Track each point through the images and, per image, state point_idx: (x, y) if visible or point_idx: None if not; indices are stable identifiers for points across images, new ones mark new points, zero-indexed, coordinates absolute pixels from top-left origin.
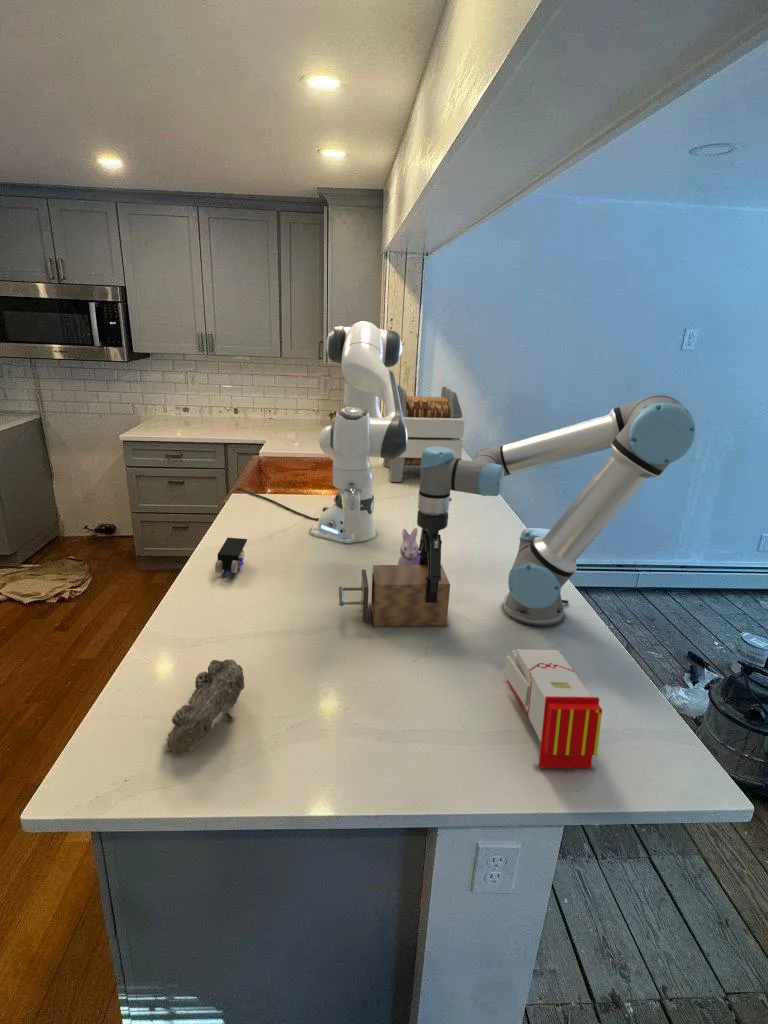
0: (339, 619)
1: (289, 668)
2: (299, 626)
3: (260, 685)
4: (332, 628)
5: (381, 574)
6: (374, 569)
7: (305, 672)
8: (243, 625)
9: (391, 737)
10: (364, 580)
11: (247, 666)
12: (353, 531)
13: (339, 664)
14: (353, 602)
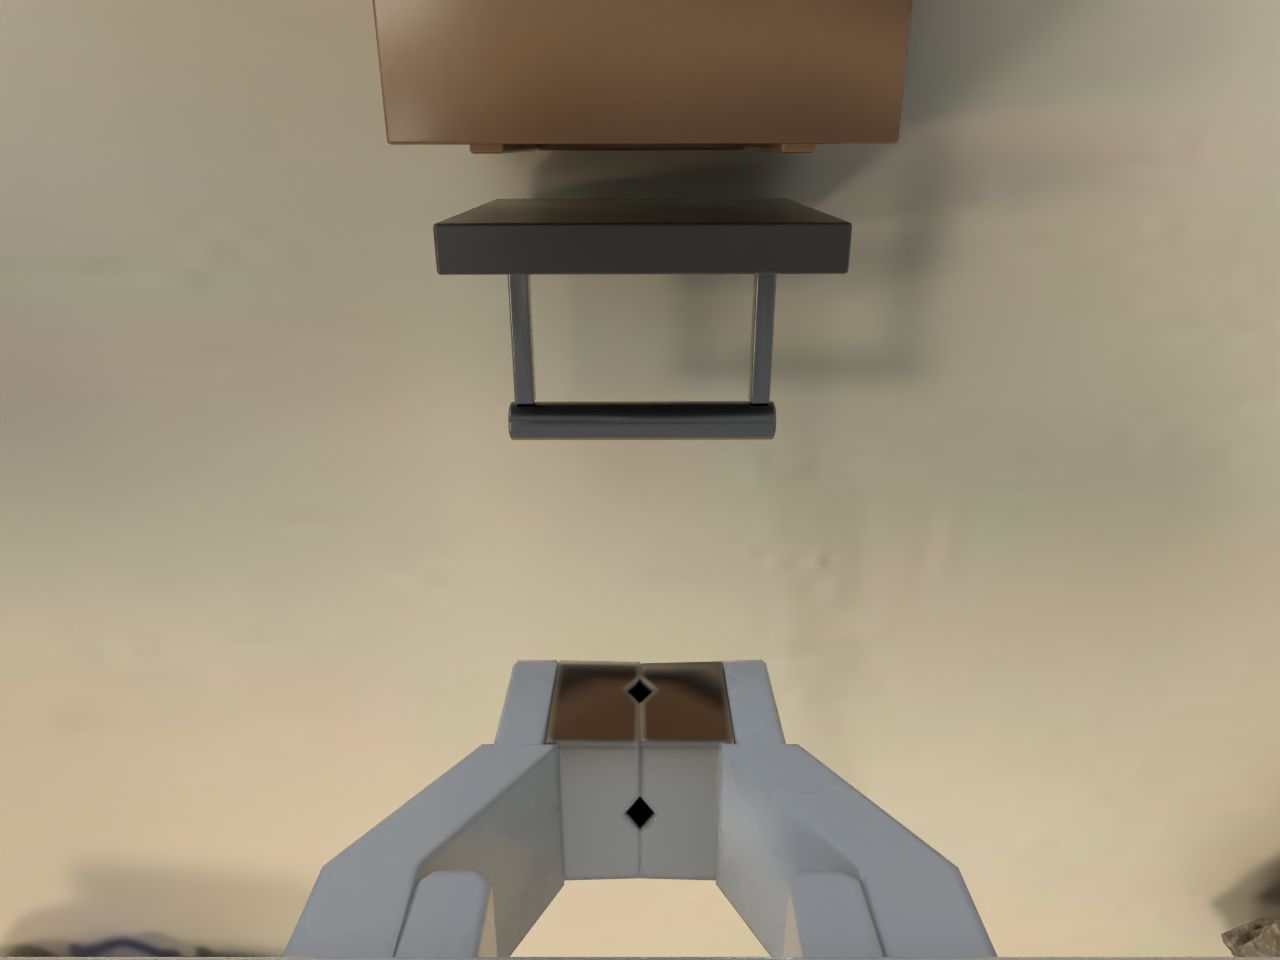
0: (696, 386)
1: (1164, 638)
2: (765, 612)
3: (1263, 743)
4: (804, 430)
5: (644, 52)
6: (509, 132)
7: (1220, 564)
8: None
9: None
10: (694, 256)
11: (1099, 805)
12: (771, 690)
13: (1197, 392)
14: (771, 330)
